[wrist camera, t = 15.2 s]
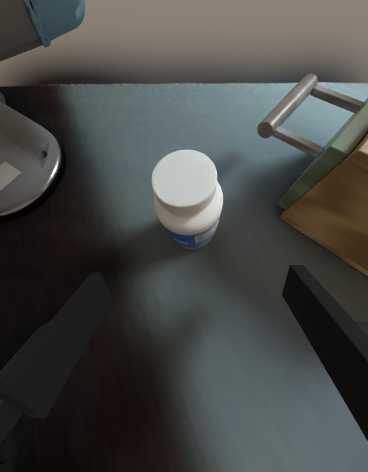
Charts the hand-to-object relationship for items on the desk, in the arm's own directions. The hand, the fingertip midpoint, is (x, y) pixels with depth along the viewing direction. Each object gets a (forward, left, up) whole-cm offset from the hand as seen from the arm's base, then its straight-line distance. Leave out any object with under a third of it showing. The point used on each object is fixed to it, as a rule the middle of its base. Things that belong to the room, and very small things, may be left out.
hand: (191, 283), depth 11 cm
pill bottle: (-4, +4, -6) cm, 9 cm away
